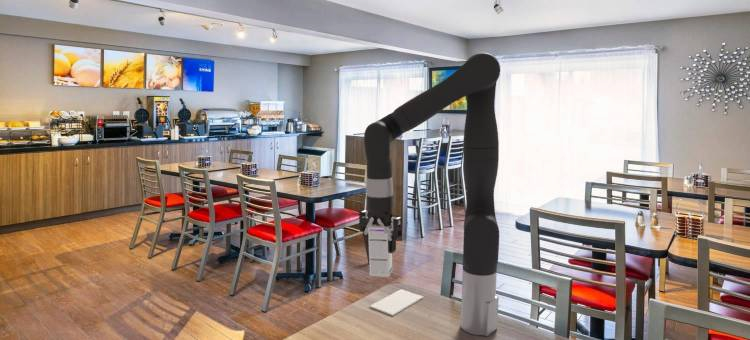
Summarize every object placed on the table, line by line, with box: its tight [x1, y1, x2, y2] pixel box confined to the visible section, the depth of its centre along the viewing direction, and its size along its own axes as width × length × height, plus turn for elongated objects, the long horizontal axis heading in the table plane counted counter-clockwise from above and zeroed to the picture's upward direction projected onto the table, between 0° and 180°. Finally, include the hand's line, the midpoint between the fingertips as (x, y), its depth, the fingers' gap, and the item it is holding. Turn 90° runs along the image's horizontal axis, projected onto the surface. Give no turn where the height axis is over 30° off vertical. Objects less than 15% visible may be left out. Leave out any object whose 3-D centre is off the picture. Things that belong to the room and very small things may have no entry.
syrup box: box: [368, 225, 394, 278], centre depth 134 cm, size 6×6×14 cm
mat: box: [369, 288, 425, 317], centre depth 148 cm, size 9×16×1 cm, turn 140°
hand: (380, 249), depth 134 cm, fingers closed on syrup box, 7 cm apart
